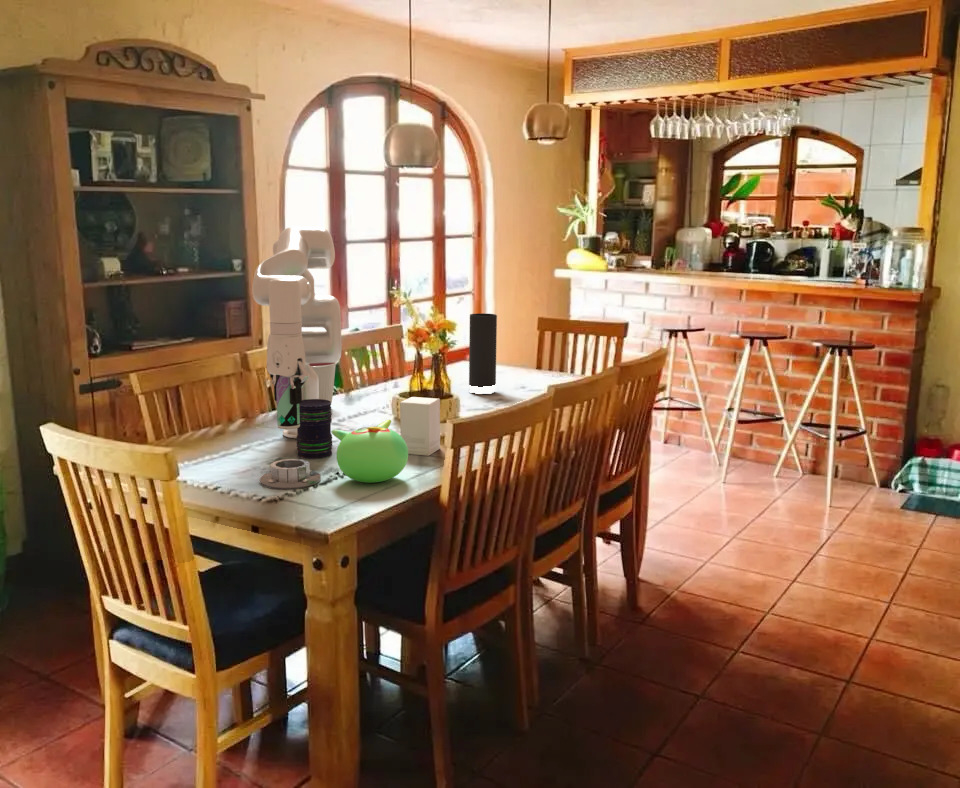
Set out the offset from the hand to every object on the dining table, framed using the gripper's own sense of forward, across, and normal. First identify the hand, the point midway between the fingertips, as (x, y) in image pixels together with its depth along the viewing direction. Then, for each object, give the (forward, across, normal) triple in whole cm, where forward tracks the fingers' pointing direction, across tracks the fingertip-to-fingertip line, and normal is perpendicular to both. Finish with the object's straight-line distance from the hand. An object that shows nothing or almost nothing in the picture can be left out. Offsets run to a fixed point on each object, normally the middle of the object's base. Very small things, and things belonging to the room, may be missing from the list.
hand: (288, 401), depth 217 cm
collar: (+20, 0, 0) cm, 20 cm away
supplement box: (+21, +4, +43) cm, 48 cm away
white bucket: (+21, -63, +58) cm, 88 cm away
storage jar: (+21, -15, +20) cm, 32 cm away
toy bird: (+21, +15, +14) cm, 29 cm away
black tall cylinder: (+21, -39, +122) cm, 130 cm away
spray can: (+7, 0, 0) cm, 7 cm away
